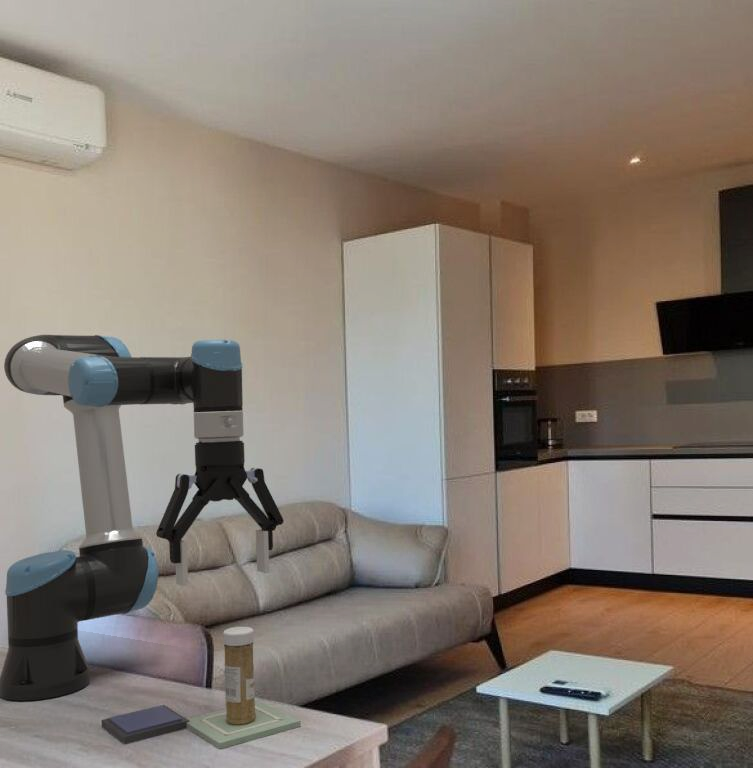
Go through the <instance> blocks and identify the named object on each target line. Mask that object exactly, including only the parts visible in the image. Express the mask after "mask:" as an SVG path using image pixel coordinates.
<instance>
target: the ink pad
mask: <svg viewBox="0 0 753 768" xmlns="http://www.w3.org/2000/svg"><path fill="white" fill-rule="evenodd" d="M188 719H189V718H186V717H185V716H183V715H182V714H180V713H178V712H177V711H175V710H173V709H171V708H170V707H169V706H167V705H165V704H161V705H156V706H152V707H149V708H144V709H141V710H140V709H139V710H136V711H131V712H128V713H123V714H118V715H115V716H110V717H109V718H104V719H101V727H102V728H103V729H104V730H105V731H107V732H108V733H110V735H112V736H113V737H115V738H116V739H117V740H119V742H121V743H122V744H123V745H127V744H131V743H134V742H138V741H143V740H145V739H150V738H153V737H154V738H155V737H157V736H161V735H164V734H169V733H173V732H177V731H180V730H181V731H182V730H185V729H187V726H186V723H187V722H189V720H188Z"/></svg>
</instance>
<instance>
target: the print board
mask: <svg viewBox="0 0 753 768" xmlns="http://www.w3.org/2000/svg"><path fill="white" fill-rule="evenodd" d="M255 714H256V718H255V719H254V720H253V721H251V722H249V723H246V724H239V725H238V724H230V723H228V722H227V721H226V708H225V709H221V710H220V709H219V710H216V711H213V712H210V713H209V712H208V713H204V714H202V715H198V716H193V717H189V718H187V719H188V720H189V722H187V723H186V726H187V728H186V729H188V730H189V731H191V732H192V733H194V734H195V735H197V736H199V737H200V738H202V739H203V740H205V741H206V742H207V743H209V744H211V745H213V746H214V747H216V748H217V749H219V750H222V749H224V748H225V749H226V748H229V747H233V746H236V745H239V744H242V743H246V742H247V743H248V742H250V741H253V740H257V739H261V738H264V737H268V736H271V735H275V734H277V733H281V732H285V731H289V730H293V729H296V728H298V727H299V728H301V725H302V724H301V720H300V719H298V718H295V717H294V716H292V715H290V714H287V713H286V712H285V711H284V712H283V711H282V710H280V709H277V708H275V707H274V706H271V705H269V704H267V703H265V702H263V701H262V700H255Z"/></svg>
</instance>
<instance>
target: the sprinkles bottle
mask: <svg viewBox="0 0 753 768" xmlns="http://www.w3.org/2000/svg"><path fill="white" fill-rule="evenodd" d="M222 634H223V635H222V643H223V647H224V688H225V689H224V690H225V698H224V699H225V707H226V708H225V709H226V721H227V722H228V723H230V724H238V725H239V724H246V723H249V722H251V721H253V720H254V719H255V718H256V714H255V701H256V700H255V697H256V696H255V695H256V694H255V693H256V692H255V689H256V688H255V668H254V667H255V665H254V651H253V650H254V648H253V647H254V642H255V632H254V629H253V628H252V627H249V626H234V627H229V628H227V629H224V630H223V633H222Z"/></svg>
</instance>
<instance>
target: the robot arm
mask: <svg viewBox="0 0 753 768" xmlns="http://www.w3.org/2000/svg"><path fill="white" fill-rule="evenodd" d="M3 368H4V372H5V377H6V378H7V380H8V381H9V383H10V384H11V386H13V387H14V388H16V389H17V390H19V391H21V392H23V393H26V394H27V393H28V394H32V395H39V396H62V400H63V401H62V402H63V407H64V408H65V409H66V410H67V411H69V412H70V413H71V414H72V416H73V426H74V435H75V447H76V454H77V463H78V472H79V481H80V490H81V491H80V492H81V500H82V501H81V502H82V509H83V518H84V529H85V539H84V540H83V541H82V543H81V544H79V547H78V550H79V551H78V553H79V556H76V554H75V552H74V551H73V550H70V549H69V550H66V549H65V550H64V549H62V550H56V551H52V552H51V551H48V552H44V553H39V554H36V555H31V556H29V557H26V558H23V559H20V560H18V561H16V562H14V563H13V564H12V565H10V566H9V568H8V570H7V571H6V584H5V586H6V587H5V591H4V592H5V595H6V612H7V613H6V614H7V637H8V638H7V641H8V642H7V643H8V648H7V653H6V656H5V659H4V663H3V666H2V670H1V672H0V698H2V699H5V700H7V701H8V700H9V701H25V702H26V701H38V700H46V699H51V698H57V697H60V696H65V695H68V694H71V693H74V692H77V691H79V690H81V689H84V688H85V687H87V685H89V684H90V681H91V676H90V668H89V665H88V663H87V660H86V656H85V655H84V652H83V651H84V650H83V649H82V647H81V644H80V640H79V634H78V633H79V632H78V623H79V622H83V621H89V620H94V619H100V618H105V617H106V618H107V617H110V616H115V615H121V614H122V615H124V614H125V615H126V614H129V613H131V612H134V611H138V610H141V609H144V608H145V607H147V606H148V605H149V604H150V603H151V602H152V600H153V598H154V595H155V594H156V591H157V588H158V582H159V565H158V564H159V563H158V559H157V557H156V556H155V551H153V549H152V548H150V547H148V546H144V544H143V536H141V535H140V534H138V533H137V532H136V531H135V530H134V528H133V519H132V512H131V503H130V494H129V485H128V484H129V483H128V477H127V469H126V461H125V454H124V453H125V452H124V451H125V450H124V443H123V436H122V428H121V427H122V426H121V418H120V417H121V416H120V408H121V406H128V405H129V406H131V405H132V406H133V405H140V406H141V405H186V404H193V429H194V430H193V435H194V439H196V440H197V439H198V440H197V441H198V442H195V444H194V460H195V461H194V463H195V464H194V466H195V473H194V475H188V474H184V473H178V474H176V476H175V482H174V489H173V492H172V494H171V497H170V498H169V502H168V504H167V506H166V509H165V511H164V513H163V515H162V519H161V520H160V523H159V524H158V528H157V529H156V533H155V534H156V537H157V538H160V539H164V540H167V541H168V545H169V546H168V547H169V561H170V563H172V564H174V565H175V584H176V585H179V586H182V587H186V586H189V578H188V577H189V576H188V575H189V573H188V572H189V571H188V542H187V541H185V540H183V538H184V536H185V535H186V533H188V530H190V528H191V526H192V525H193V524H194V522H195V521H196V519H197V518H198V516H199V515H200V513H201V512H202V511H203V509H204V508H205V506H207V505H208V504H209V503H210V502H221V501H223V500H226V501H232V500H233V501H234V500H236V501H237V502H238V503H239V504H240V506H241V507H242V508H243V509H244V511H245V512H247V514H248V515H249V516H250V517H251V519H253V520H254V522H255V523H256V524H257V525H258V526H259V528H260V529H256V530H255V542H256V543H255V545H256V546H255V547H256V548H255V550H256V572H259V573H262V574H269V573H270V554H269V553H270V551H272V550H273V548H274V542H273V541H274V538H273V532H274V531H275V530H276V529H277V527H278V526H280V525H283V524H284V518H283V515H282V514H281V512H280V510H279V508H278V506H277V504H276V501H275V500H274V498H273V495H272V493H271V492H270V490H269V488H268V486H267V484H266V481H265V473H264V470H263V469H262V468H259V467H257V468H256V467H251V469H249V470H246V469H245V442H243V440H241V438H242V437H244V435H245V434H244V411H243V406H244V405H243V403H244V402H243V400H244V399H243V363H242V358H241V346H240V343H238V342H237V341H236V340H233V339H204V340H197V341H195V342H194V343H193V344H192V345H191V353H190V356H186V357H185V356H184V357H183V356H181V357H179V356H178V357H175V356H174V357H173V356H171V357H170V356H169V357H167V356H165V357H164V356H160V357H158V356H157V357H155V356H152V357H151V356H146V357H145V356H140V357H133V356H132V354H131V353H130V351H129V349H128V347H127V346H126V344H125V343H124V342H123V341H122V340H121V339H119V338H116V337H113V336H106V335H105V336H103V335H100V334H95V335H72V334H71V335H70V334H68V335H66V334H65V335H64V334H63V335H62V334H57V335H56V334H39V335H34V336H29V337H27V338H26V337H25V338H24V339H21V340H20V341H18V342H16V343H15V344H14V345H13V346H12V347H11V348H10V349H9V351H8V352H7V353H6V356H5V358H4V366H3ZM247 480H248V483H250V484H251V487H252V489H253V490H254V493H255V494H256V497H257V499H258V501H259V502H260V504H261V507H262V508H260V507H259V505H257V503H256V502H255V501H254V499H253V498H252V497H250V493H248V491H247V490H246V489H245V488H244V487H243V486H244V485H245V482H246V481H247ZM193 484H194V485H195V486H196V488H197V489H198V490H197V491H196V493H195V494H194V495H193V497H192V498H191V499H192V500H191V502H190V503H189V505H187V508H186V509H185V510H184V511H183V513H182V515H181V516H180V512H181V510H182V508H183V506H184V503H185V500H186V498H187V495H188V494H189V493H188V492H189V490H190V489H192V487H193ZM262 509H263V510H264V512H265V513H264V512H263V510H262ZM179 516H180V517H179ZM178 517H179V519H178Z"/></svg>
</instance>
